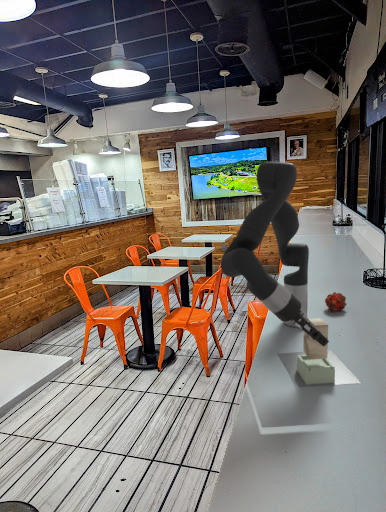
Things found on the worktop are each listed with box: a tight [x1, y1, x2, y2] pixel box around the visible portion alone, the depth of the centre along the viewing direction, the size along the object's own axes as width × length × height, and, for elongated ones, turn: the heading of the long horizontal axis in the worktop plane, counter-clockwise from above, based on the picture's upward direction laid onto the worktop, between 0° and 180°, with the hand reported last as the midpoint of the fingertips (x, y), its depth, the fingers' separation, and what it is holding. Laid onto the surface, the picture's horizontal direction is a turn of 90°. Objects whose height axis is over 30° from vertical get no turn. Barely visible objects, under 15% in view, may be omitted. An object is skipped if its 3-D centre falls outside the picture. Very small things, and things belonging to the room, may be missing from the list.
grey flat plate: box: [277, 349, 362, 388], centre depth 104 cm, size 20×18×1 cm
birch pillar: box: [302, 317, 329, 360], centre depth 97 cm, size 5×5×10 cm
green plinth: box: [297, 355, 335, 385], centre depth 99 cm, size 8×8×5 cm
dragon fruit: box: [324, 291, 348, 312], centre depth 152 cm, size 8×8×12 cm
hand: (321, 339), depth 97 cm, fingers closed on birch pillar, 5 cm apart
